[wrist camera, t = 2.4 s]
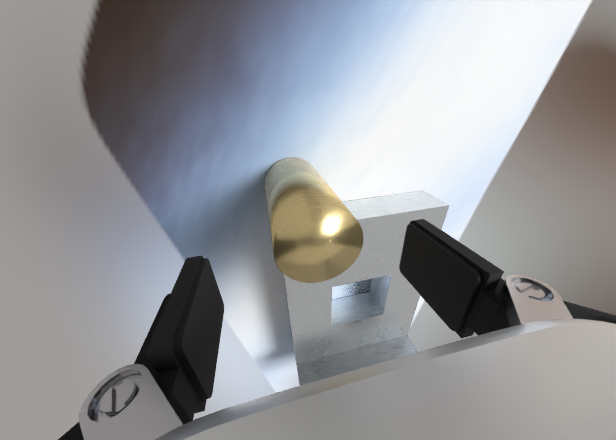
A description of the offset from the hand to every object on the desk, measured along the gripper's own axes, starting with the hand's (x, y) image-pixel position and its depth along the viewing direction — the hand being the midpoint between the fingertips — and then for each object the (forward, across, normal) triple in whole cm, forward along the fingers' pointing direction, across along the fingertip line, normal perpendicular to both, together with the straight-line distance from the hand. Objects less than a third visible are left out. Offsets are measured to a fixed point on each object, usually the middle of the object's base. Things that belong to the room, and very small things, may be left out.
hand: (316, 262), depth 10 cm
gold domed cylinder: (+8, 0, -1) cm, 8 cm away
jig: (+8, -5, +10) cm, 14 cm away
